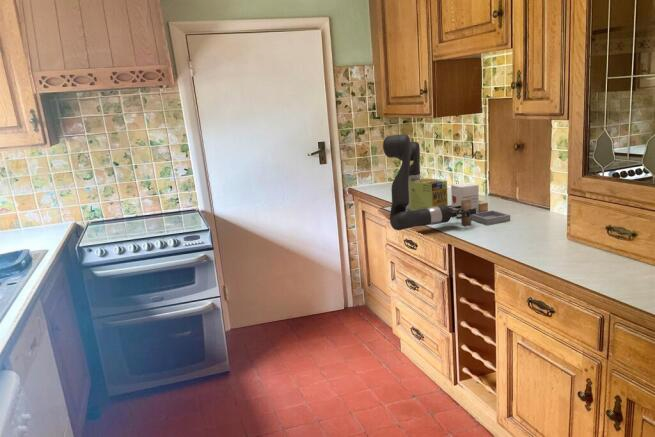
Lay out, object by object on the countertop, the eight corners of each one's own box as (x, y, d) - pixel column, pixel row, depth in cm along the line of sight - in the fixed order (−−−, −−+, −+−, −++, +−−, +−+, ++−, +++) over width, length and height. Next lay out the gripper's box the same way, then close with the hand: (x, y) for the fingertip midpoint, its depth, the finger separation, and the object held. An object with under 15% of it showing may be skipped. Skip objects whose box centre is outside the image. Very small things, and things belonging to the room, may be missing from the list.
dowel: (459, 224, 224) (459, 199, 221) (467, 223, 225) (467, 198, 223) (465, 226, 220) (464, 201, 218) (473, 224, 221) (472, 199, 219)
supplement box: (451, 216, 240) (450, 184, 236) (468, 213, 242) (467, 181, 239) (462, 219, 231) (461, 186, 228) (479, 217, 234) (479, 184, 230)
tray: (470, 219, 230) (469, 214, 229) (492, 215, 234) (492, 210, 233) (486, 225, 219) (486, 219, 218) (510, 220, 223) (510, 215, 222)
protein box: (432, 216, 242) (431, 183, 239) (410, 212, 255) (408, 180, 251) (448, 212, 248) (447, 180, 244) (425, 208, 260) (424, 177, 257)
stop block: (467, 213, 243) (467, 200, 241) (474, 211, 244) (474, 199, 242) (480, 217, 233) (480, 204, 232) (487, 215, 235) (487, 202, 233)
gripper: (445, 209, 209) (479, 203, 214) (427, 203, 222) (460, 198, 227) (446, 227, 211) (479, 221, 216) (428, 220, 224) (460, 214, 229)
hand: (469, 209), depth 222 cm, fingers open, 8 cm apart
